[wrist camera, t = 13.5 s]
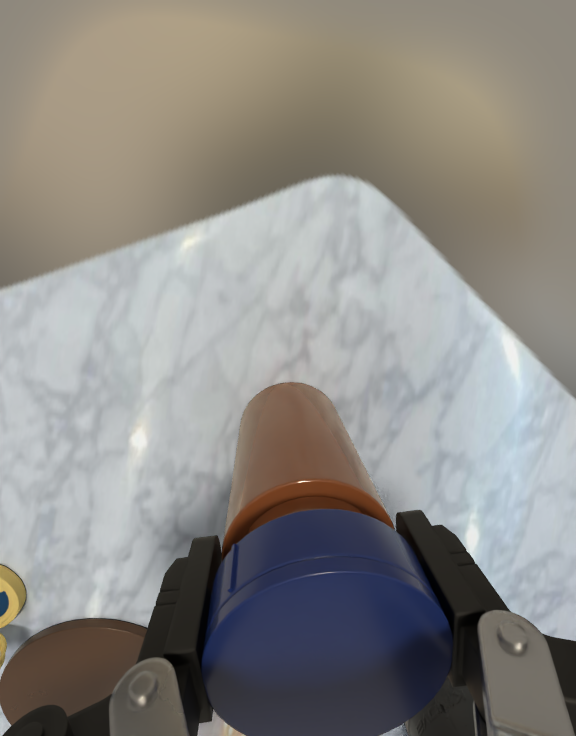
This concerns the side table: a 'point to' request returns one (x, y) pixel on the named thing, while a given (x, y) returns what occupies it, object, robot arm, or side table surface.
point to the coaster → (69, 666)
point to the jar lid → (323, 629)
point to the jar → (294, 462)
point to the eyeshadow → (9, 602)
